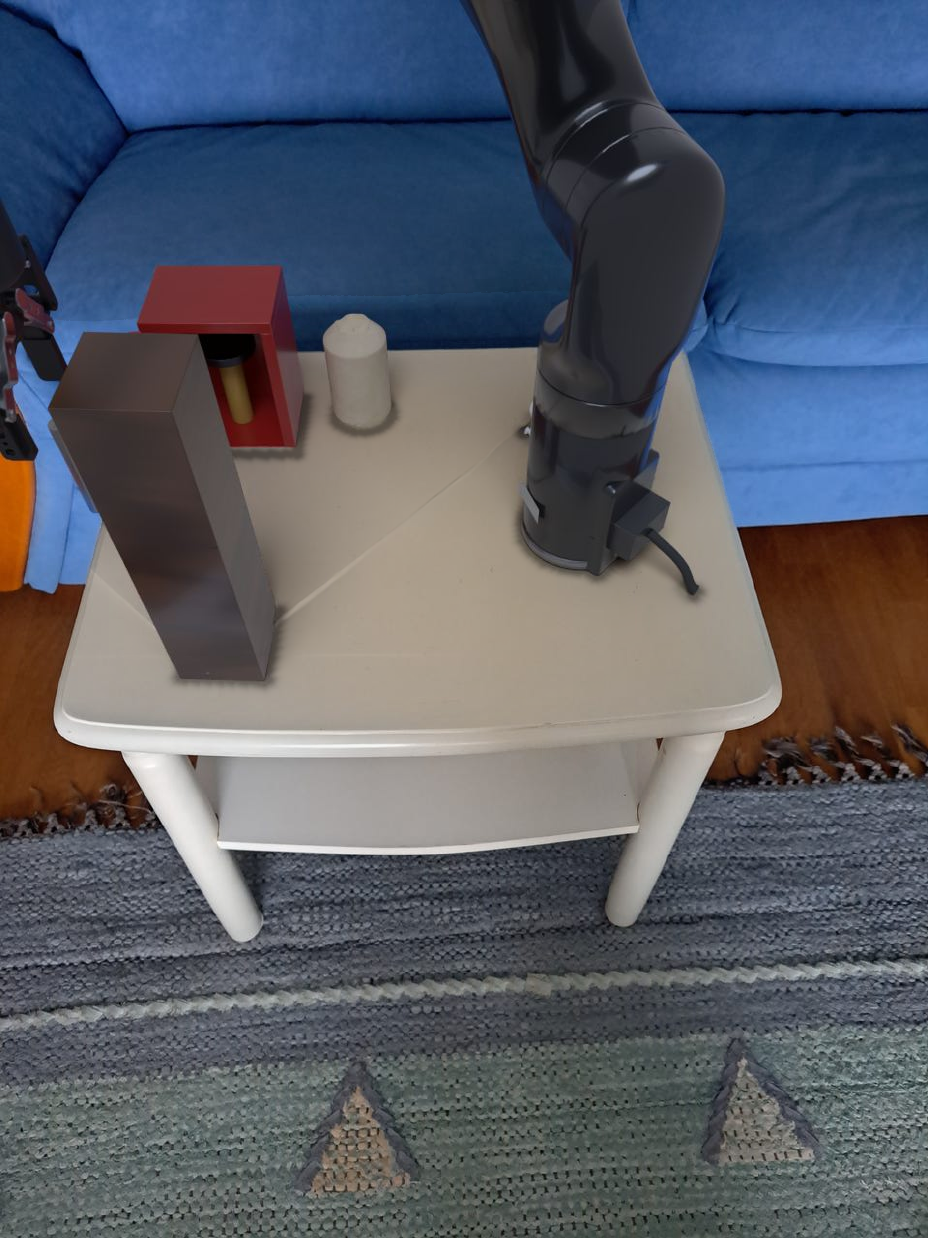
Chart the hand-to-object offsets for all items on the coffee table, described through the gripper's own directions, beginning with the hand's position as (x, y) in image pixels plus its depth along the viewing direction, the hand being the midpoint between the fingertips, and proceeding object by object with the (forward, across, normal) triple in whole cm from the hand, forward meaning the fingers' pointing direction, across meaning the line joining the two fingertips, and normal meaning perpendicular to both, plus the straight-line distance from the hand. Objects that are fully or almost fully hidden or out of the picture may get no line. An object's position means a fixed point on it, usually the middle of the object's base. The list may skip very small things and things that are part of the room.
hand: (40, 416), depth 64 cm
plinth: (+13, +12, +13) cm, 22 cm away
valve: (+12, -13, +10) cm, 21 cm away
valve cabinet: (+13, -13, +10) cm, 21 cm away
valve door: (+13, -3, +3) cm, 13 cm away
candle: (+13, -15, +22) cm, 29 cm away
